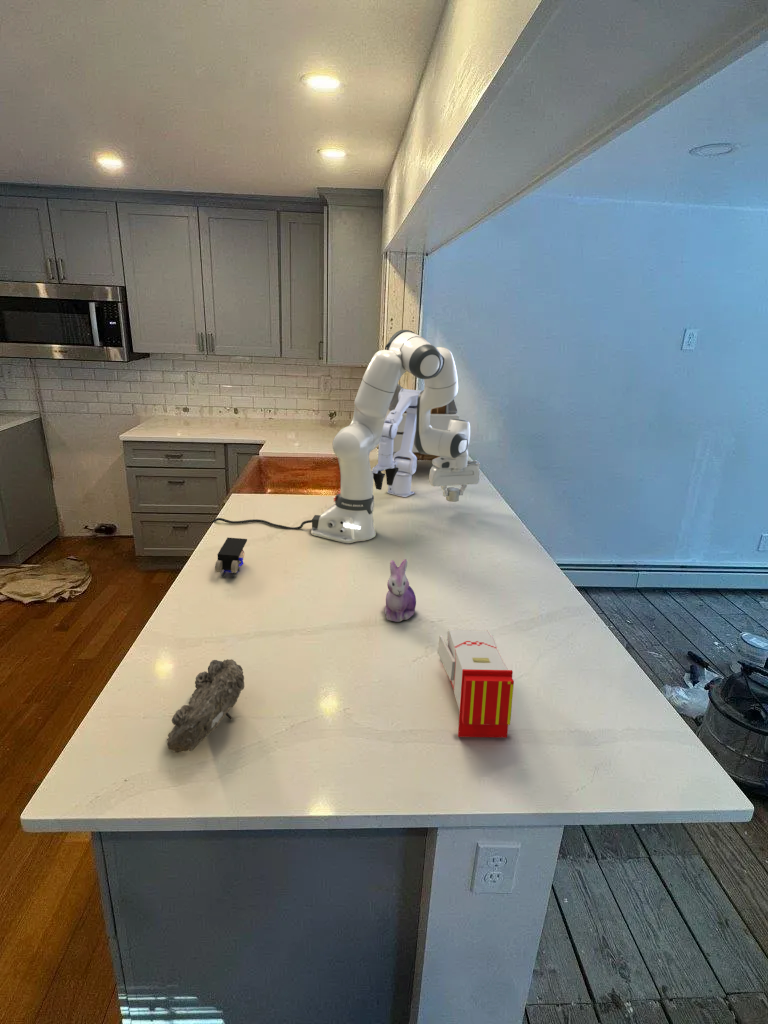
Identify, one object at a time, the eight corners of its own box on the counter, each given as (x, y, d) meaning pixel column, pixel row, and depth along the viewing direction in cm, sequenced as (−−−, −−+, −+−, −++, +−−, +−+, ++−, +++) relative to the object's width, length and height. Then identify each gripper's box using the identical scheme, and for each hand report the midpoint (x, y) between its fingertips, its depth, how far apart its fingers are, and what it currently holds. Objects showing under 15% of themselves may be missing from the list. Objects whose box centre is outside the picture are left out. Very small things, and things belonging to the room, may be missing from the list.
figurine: (392, 627, 141) (395, 572, 136) (374, 608, 149) (376, 556, 144) (425, 619, 145) (429, 566, 140) (405, 601, 154) (408, 550, 149)
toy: (488, 613, 130) (523, 677, 101) (484, 667, 133) (517, 744, 104) (435, 612, 130) (455, 676, 101) (432, 666, 133) (451, 743, 103)
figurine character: (238, 584, 162) (249, 557, 175) (236, 562, 158) (247, 536, 172) (215, 584, 161) (227, 556, 175) (212, 561, 158) (225, 535, 171)
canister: (452, 502, 217) (453, 491, 216) (443, 499, 221) (444, 488, 219) (461, 500, 220) (462, 489, 219) (452, 497, 224) (453, 486, 222)
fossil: (192, 660, 117) (244, 628, 112) (224, 691, 120) (276, 661, 115) (142, 746, 98) (202, 712, 93) (182, 779, 101) (242, 748, 96)
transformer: (380, 458, 298) (383, 379, 285) (441, 459, 302) (447, 381, 288) (387, 476, 267) (391, 388, 253) (455, 477, 270) (463, 391, 257)
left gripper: (476, 458, 221) (472, 491, 226) (428, 459, 215) (425, 494, 219) (484, 462, 216) (480, 496, 221) (435, 464, 209) (432, 499, 214)
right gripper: (383, 458, 212) (382, 493, 217) (404, 452, 223) (402, 485, 228) (368, 455, 216) (367, 489, 220) (389, 449, 227) (388, 481, 232)
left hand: (452, 495), depth 220 cm, fingers closed on canister, 5 cm apart
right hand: (384, 487), depth 224 cm, fingers open, 7 cm apart
